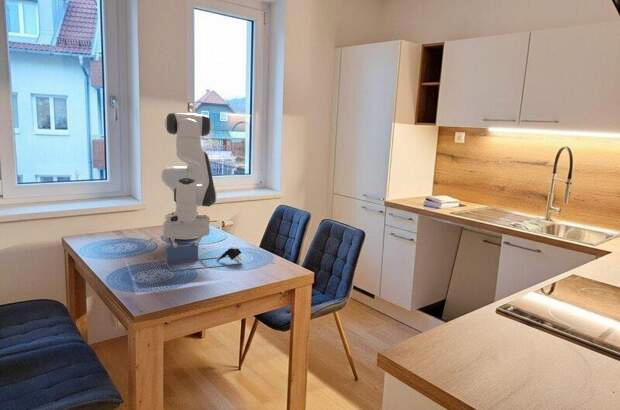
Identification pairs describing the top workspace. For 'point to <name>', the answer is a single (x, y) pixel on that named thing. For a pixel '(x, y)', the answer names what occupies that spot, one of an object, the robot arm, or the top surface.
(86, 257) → the top surface
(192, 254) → the frame
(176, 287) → the top surface
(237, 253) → the power plug
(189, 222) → the robot arm
